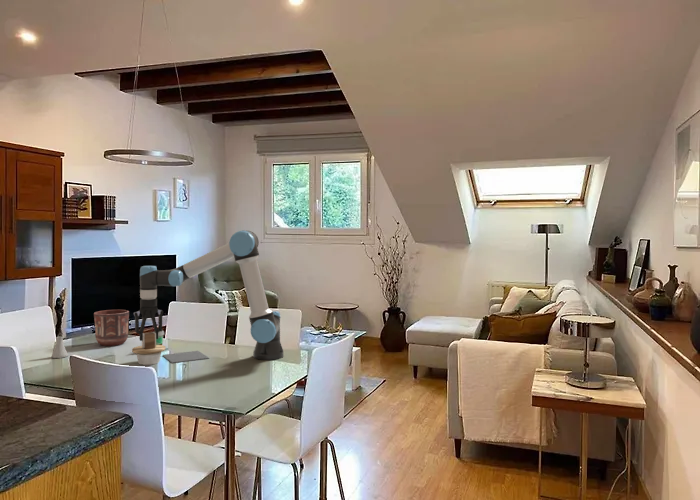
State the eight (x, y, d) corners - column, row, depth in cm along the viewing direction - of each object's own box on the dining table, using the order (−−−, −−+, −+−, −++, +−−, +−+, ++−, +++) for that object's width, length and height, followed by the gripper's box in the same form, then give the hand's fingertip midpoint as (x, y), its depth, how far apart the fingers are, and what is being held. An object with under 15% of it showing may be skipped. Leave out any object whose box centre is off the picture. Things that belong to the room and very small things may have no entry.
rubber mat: (209, 358, 268) (209, 357, 268) (172, 363, 258) (172, 362, 258) (197, 351, 283) (197, 350, 283) (162, 355, 273) (162, 354, 273)
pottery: (118, 339, 313) (117, 308, 312) (135, 343, 303) (135, 311, 302) (88, 344, 298) (87, 312, 298) (105, 349, 288) (104, 315, 287)
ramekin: (153, 359, 267) (153, 348, 267) (166, 362, 260) (165, 351, 260) (132, 363, 259) (131, 352, 258) (144, 367, 251) (144, 355, 251)
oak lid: (169, 351, 257) (168, 334, 257) (135, 355, 249) (135, 337, 248) (161, 345, 270) (161, 329, 269) (129, 348, 261) (129, 332, 261)
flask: (71, 356, 272) (71, 336, 271) (58, 359, 265) (58, 339, 265) (61, 354, 275) (61, 335, 274) (48, 357, 268) (48, 337, 268)
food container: (156, 352, 280) (156, 333, 280) (145, 352, 281) (145, 333, 281) (168, 347, 292) (168, 329, 292) (158, 347, 293) (158, 328, 293)
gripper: (165, 296, 266) (165, 343, 267) (127, 298, 257) (127, 347, 257) (169, 298, 260) (169, 346, 261) (130, 300, 250) (131, 350, 251)
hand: (148, 346), depth 259 cm, fingers closed on oak lid, 4 cm apart
